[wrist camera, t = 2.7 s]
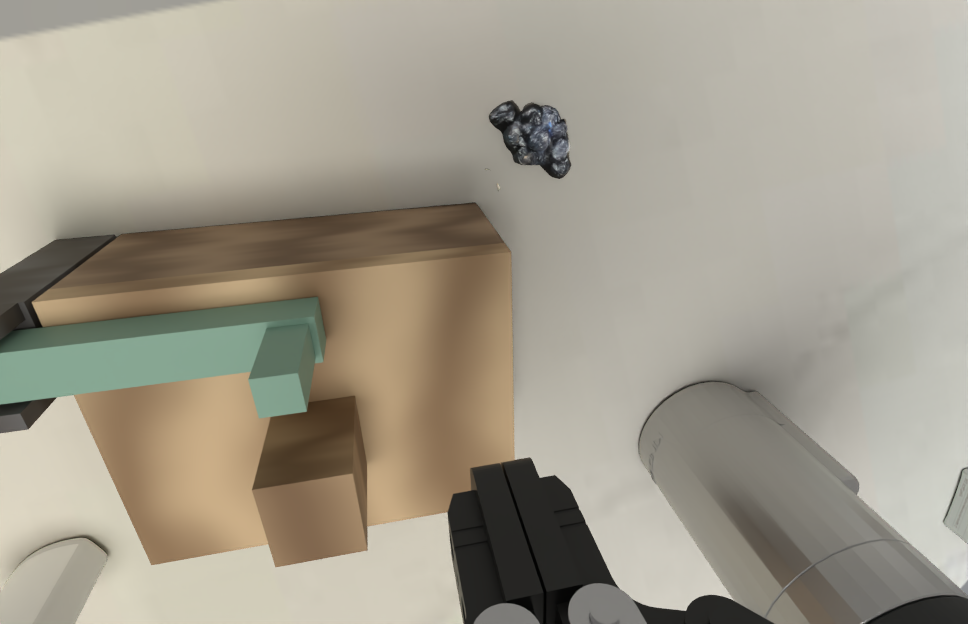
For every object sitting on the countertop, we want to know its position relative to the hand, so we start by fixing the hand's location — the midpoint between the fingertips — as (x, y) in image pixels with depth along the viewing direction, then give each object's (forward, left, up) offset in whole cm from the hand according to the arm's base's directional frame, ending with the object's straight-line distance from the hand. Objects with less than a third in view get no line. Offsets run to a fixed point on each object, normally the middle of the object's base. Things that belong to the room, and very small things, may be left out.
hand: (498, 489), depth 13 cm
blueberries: (-6, -5, -20) cm, 21 cm away
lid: (+6, +5, -12) cm, 14 cm away
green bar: (+11, 0, -11) cm, 15 cm away
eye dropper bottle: (+25, +19, -19) cm, 37 cm away
